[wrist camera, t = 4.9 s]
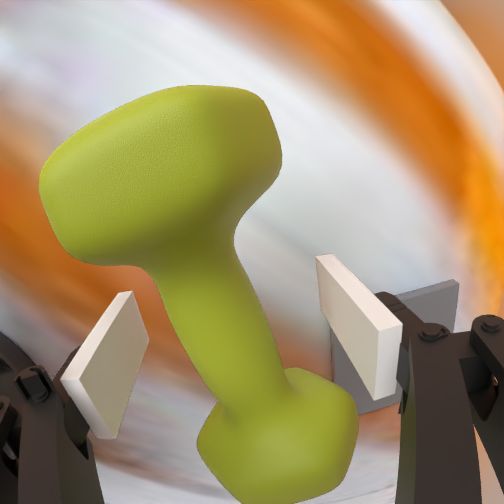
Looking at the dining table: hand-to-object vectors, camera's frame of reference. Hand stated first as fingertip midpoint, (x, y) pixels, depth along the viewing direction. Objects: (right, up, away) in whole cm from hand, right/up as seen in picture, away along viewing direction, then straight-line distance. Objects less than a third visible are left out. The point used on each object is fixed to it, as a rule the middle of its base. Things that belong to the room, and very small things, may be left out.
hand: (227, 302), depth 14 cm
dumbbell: (0, 0, +1) cm, 1 cm away
